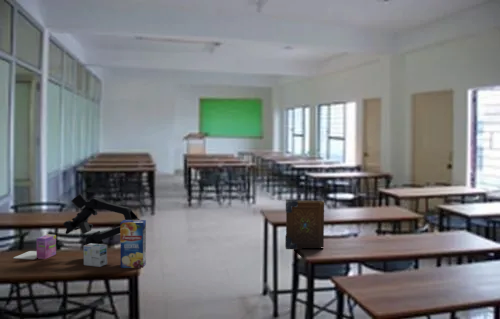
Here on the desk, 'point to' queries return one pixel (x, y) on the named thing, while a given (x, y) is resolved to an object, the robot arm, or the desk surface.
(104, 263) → the light bulb box
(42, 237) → the box
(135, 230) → the juice carton
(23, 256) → the mat
